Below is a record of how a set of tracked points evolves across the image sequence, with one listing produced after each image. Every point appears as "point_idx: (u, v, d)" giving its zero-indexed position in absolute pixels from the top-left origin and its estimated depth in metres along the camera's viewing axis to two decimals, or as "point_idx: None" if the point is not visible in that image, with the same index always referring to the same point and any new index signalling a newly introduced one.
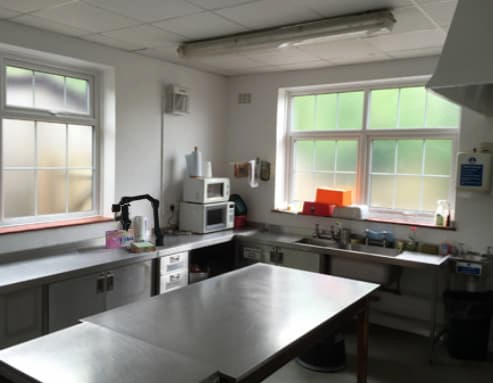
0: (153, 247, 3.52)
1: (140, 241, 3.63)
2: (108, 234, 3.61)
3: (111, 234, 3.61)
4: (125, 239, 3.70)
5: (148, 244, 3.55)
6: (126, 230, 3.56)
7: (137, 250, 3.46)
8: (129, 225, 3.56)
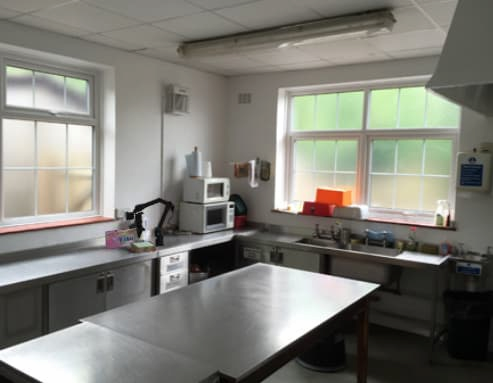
0: (153, 247, 3.52)
1: (140, 241, 3.63)
2: (108, 234, 3.61)
3: (111, 234, 3.61)
4: (125, 239, 3.70)
5: (148, 244, 3.55)
6: (138, 237, 3.68)
7: (137, 250, 3.46)
8: (141, 232, 3.67)
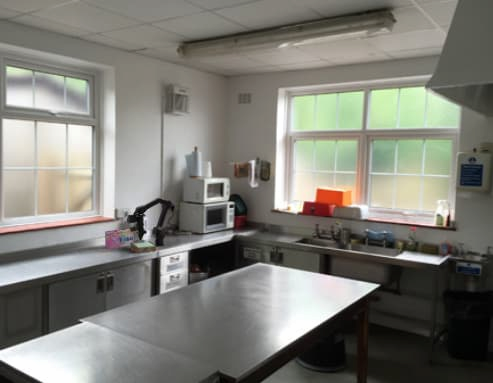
0: (153, 247, 3.52)
1: (140, 241, 3.62)
2: (108, 234, 3.61)
3: (111, 234, 3.61)
4: (125, 238, 3.71)
5: (148, 244, 3.54)
6: (140, 239, 3.63)
7: (137, 250, 3.46)
8: (143, 234, 3.63)
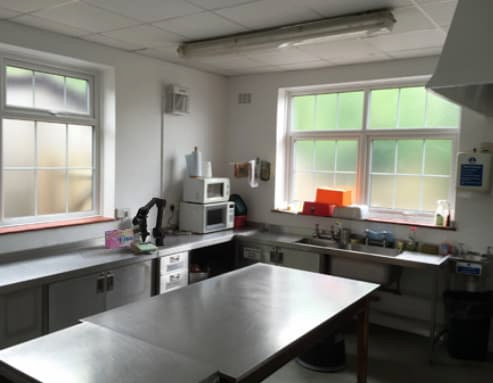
0: None
1: (144, 243, 3.53)
2: (108, 234, 3.61)
3: (111, 234, 3.61)
4: (125, 238, 3.71)
5: (152, 247, 3.46)
6: (143, 241, 3.55)
7: (137, 250, 3.46)
8: (146, 236, 3.54)
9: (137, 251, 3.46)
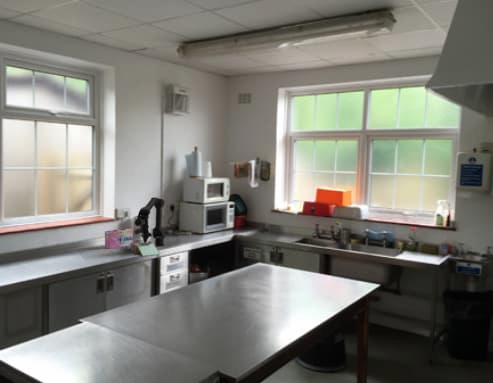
0: None
1: (145, 244, 3.50)
2: (108, 234, 3.61)
3: (111, 234, 3.61)
4: (125, 238, 3.71)
5: (153, 251, 3.43)
6: (144, 242, 3.51)
7: (137, 250, 3.46)
8: (147, 237, 3.50)
9: (137, 251, 3.46)
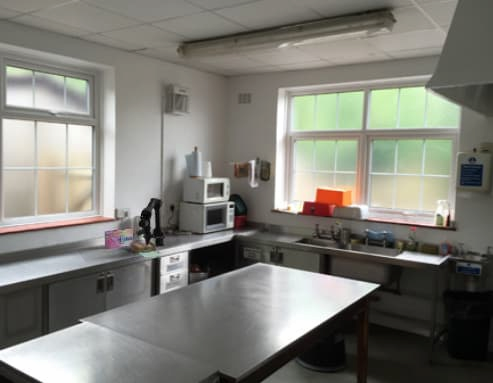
0: (153, 247, 3.52)
1: (146, 251, 3.47)
2: (107, 234, 3.61)
3: (111, 234, 3.61)
4: (124, 238, 3.71)
5: (155, 254, 3.40)
6: (146, 244, 3.45)
7: (137, 250, 3.46)
8: (150, 239, 3.45)
9: (137, 251, 3.46)
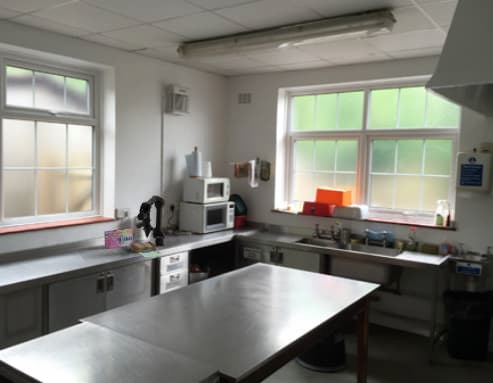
0: (153, 247, 3.52)
1: (146, 251, 3.47)
2: (107, 234, 3.61)
3: (111, 234, 3.61)
4: (124, 238, 3.71)
5: (155, 254, 3.40)
6: (146, 236, 3.51)
7: (137, 250, 3.46)
8: (149, 231, 3.51)
9: (137, 251, 3.46)
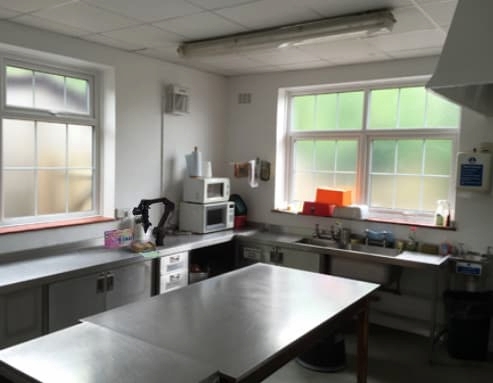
0: (153, 247, 3.52)
1: (146, 251, 3.47)
2: (107, 234, 3.61)
3: (110, 234, 3.61)
4: (124, 238, 3.71)
5: (155, 254, 3.40)
6: (145, 232, 3.64)
7: (137, 250, 3.46)
8: (148, 227, 3.63)
9: (137, 251, 3.46)
